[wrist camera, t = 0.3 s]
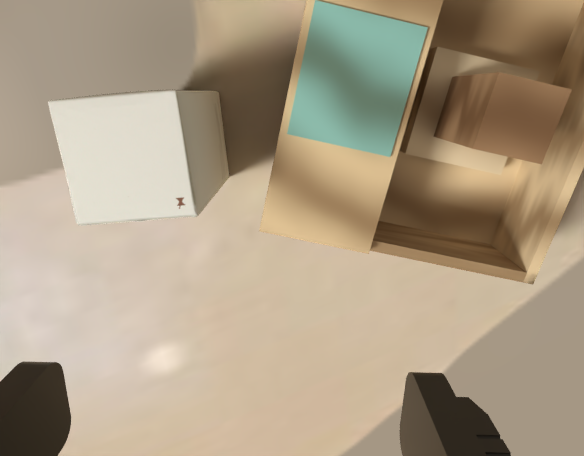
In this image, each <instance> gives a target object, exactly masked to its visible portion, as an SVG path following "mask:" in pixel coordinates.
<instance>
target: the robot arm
mask: <svg viewBox="0 0 584 456" xmlns="http://www.w3.org/2000/svg"><path fill="white" fill-rule="evenodd" d="M70 425H71V414H70V408H69V402H68V397H67V391H66V385H65V379H64V374H63V369H62V367H61V365H60V364H59V363H57V362H21V363H19V364H18V365H17V366H16V367H15V368H14V369H13V370H12V371H11V372H10V373H9V374H8V375H7V376H6V377H5V378H4V379H3V380H2V381H1V382H0V456H58V454H59V453H60V451H61V449H62V448H63V446H64V444H65V442H66V440H67V438H68V434H69V431H70ZM400 443H401V450H402V455H403V456H511V455H510V451H509V450H508V448H507V446H506V445H505V443H504V441H503V440H502V439H500V434H499V433H498V431H497V429H496V428H495V426H494V424H493V423H492V421H491V420H490V418H489V416H488V414H486V413H485V412H484V411H483V410H482V409H481V408H480V407H478V406H477V405H476V404H475V403H474V402H473V401H472V400H471V399H469V398H468V397H456V396H455V394H454V392H453V390H452V388H451V386H450V385H449V383H448V381H447V379H446V377H445V376H444V374H442V373H416V372H410V373H408V375H407V378H406V384H405V392H404V399H403V407H402V414H401V422H400Z"/></svg>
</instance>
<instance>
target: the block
mask: <svg viewBox="0 0 584 456" xmlns="http://www.w3.org/2000/svg"><path fill="white" fill-rule="evenodd" d="M571 91H572V89H568V88H564V87H559V86H555V85H551V84H547V83H543V82H539V81H534V80H530V79H526V78H522V77H518V76H514V75H509V74H505V73H501V72H495V73H485V74H475V75H465V76H455V77H452V80H451V83H450V86H449V89H448V92H447V95H446V99H445V102H444V105H443V108H442V111H441V114H440V118H439V121H438V124H437V127H436V130H435V133H434V136H433V137H437V138H440V139H443V140H446V141H449V142H453V143H456V144H459V145H462V146H465V147H469V148H472V149H476V150H480V151H485V152H489V153H493V154H498V155H502V156H507V157H511V158H515V159H520V160H524V161H529V162H533V163H537V164H542V163H543V160H544V158H545V155H546V153H547V150H548V148H549V145H550V143H551V140H552V138H553V135H554V133H555V130H556V128H557V125H558V123H559V120H560V118H561V115H562V113H563V110H564V108H565V105H566V103H567V101H568V98H569V96H570V93H571Z"/></svg>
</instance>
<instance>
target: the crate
mask: <svg viewBox="0 0 584 456" xmlns="http://www.w3.org/2000/svg"><path fill="white" fill-rule="evenodd" d="M495 72H501V73H505V74H509V75H514V76H518V77H522V78H526V79H530V80H534V81H539V82H543V83H547V84H551V85H555V86H559V87H564V88H568V89H572V91H571V93H570V96H569V98H568V101H567V103H566V105H565V108H564V110H563V113H562V115H561V118H560V120H559V123H558V125H557V128H556V130H555V133H554V135H553V138H552V140H551V143H550V145H549V148H548V150H547V153H546V155H545V158H544V160H543V163H542V164H537V163H533V162H529V161H524V160H520V159H515V158H511V157H507V156H502V155H498V154H493V153H489V152H485V151H480V150H476V149H472V148H469V147H465V146H462V145H459V144H456V143H453V142H449V141H446V140H443V139H440V138H437V137H433V136H434V133H435V130H436V127H437V124H438V121H439V118H440V114H441V111H442V108H443V105H444V102H445V99H446V95H447V92H448V89H449V86H450V83H451V80H452V77H455V76H465V75H475V74H485V73H495ZM583 168H584V0H307V1H306V6H305V10H304V15H303V20H302V25H301V30H300V35H299V40H298V45H297V50H296V54H295V59H294V64H293V69H292V74H291V79H290V84H289V89H288V93H287V98H286V103H285V108H284V113H283V118H282V123H281V128H280V132H279V137H278V142H277V147H276V152H275V157H274V162H273V167H272V172H271V176H270V181H269V186H268V191H267V196H266V201H265V206H264V211H263V215H262V220H261V225H260V230H259V231H261V232H266V233H271V234H276V235H280V236H285V237H290V238H295V239H300V240H304V241H309V242H314V243H319V244H324V245H329V246H333V247H338V248H343V249H348V250H353V251H358V252H362V253H367V254H369V251H375V252H380V253H384V254H389V255H394V256H399V257H404V258H409V259H413V260H418V261H423V262H428V263H433V264H437V265H442V266H447V267H452V268H457V269H461V270H466V271H471V272H476V273H481V274H486V275H490V276H495V277H500V278H505V279H510V280H514V281H519V282H524V283H529V284H533V283H534V281H535V279H536V276H537V274H538V272H539V269H540V267H541V265H542V262H543V260H544V258H545V256H546V253H547V251H548V249H549V246H550V244H551V242H552V239H553V237H554V235H555V232H556V230H557V228H558V226H559V223H560V221H561V219H562V216H563V214H564V212H565V209H566V207H567V205H568V203H569V200H570V198H571V196H572V193H573V191H574V189H575V186H576V184H577V182H578V180H579V177H580V175H581V173H582V170H583Z"/></svg>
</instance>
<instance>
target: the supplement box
mask: <svg viewBox="0 0 584 456" xmlns="http://www.w3.org/2000/svg"><path fill="white" fill-rule="evenodd" d="M48 105H49V109H50V113H51V117H52V121H53V125H54V129H55V133H56V137H57V141H58V145H59V149H60V153H61V157H62V161H63V165H64V169H65V174H66V178H67V183H68V187H69V192H70V197H71V201H72V205H73V210H74V214H75V219H76V223H77V224H78V225H96V224H108V223H120V222H137V221H147V220H158V219H171V218H184V217H197V216H198V215H199V214H200V213H201V212H202V210H203V209H204V208H205V207H206V205H207V204H208V203H209V202H210V200H211V199H212V198H213V197H214V195H215V194H216V193H217V192H218V190H219V189H220V188H221V187H222V185H223V184H224V183H225V182H226V180H227V179H228V178H229V170H228V162H227V154H226V146H225V138H224V130H223V122H222V113H221V105H220V98H219V93H218V92H217V91H186V90H154V91H138V92H124V93H113V94H103V95H93V96H85V97H76V98H68V99H59V100H52V101H49V102H48Z"/></svg>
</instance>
